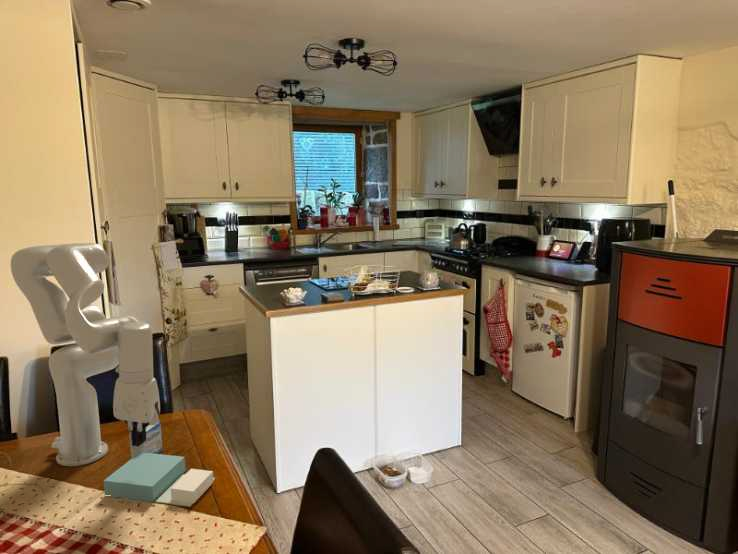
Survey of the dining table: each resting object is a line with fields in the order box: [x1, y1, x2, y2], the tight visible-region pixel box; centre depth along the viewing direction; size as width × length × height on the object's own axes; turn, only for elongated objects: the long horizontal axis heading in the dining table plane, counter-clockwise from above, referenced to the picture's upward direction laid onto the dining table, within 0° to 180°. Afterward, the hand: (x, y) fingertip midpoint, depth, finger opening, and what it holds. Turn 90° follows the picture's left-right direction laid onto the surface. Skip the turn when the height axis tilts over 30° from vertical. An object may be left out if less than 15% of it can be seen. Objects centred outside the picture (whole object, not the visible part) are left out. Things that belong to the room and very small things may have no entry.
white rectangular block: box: [170, 468, 214, 504], centre depth 125 cm, size 6×9×3 cm, turn 168°
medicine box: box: [129, 421, 163, 460], centre depth 141 cm, size 8×4×9 cm, turn 168°
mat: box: [154, 473, 216, 508], centre depth 126 cm, size 9×12×1 cm
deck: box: [103, 452, 186, 503], centre depth 129 cm, size 13×14×4 cm
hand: (139, 443), depth 127 cm, fingers closed
